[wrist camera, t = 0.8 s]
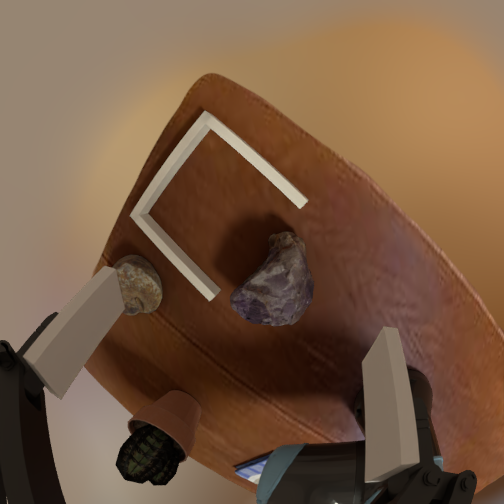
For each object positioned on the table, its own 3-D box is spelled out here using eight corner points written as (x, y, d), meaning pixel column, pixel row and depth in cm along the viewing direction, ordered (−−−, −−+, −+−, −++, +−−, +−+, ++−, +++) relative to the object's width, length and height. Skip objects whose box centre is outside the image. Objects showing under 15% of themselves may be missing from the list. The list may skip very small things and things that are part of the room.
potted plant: (152, 400, 56) (93, 466, 33) (167, 370, 52) (95, 448, 28) (198, 431, 55) (151, 506, 31) (222, 407, 50) (168, 498, 27)
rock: (237, 273, 44) (286, 318, 43) (209, 299, 36) (267, 352, 35) (286, 218, 38) (341, 269, 37) (264, 235, 30) (333, 300, 29)
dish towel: (294, 496, 55) (292, 503, 53) (233, 465, 56) (230, 472, 54) (340, 482, 49) (339, 489, 47) (277, 448, 50) (274, 457, 48)
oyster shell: (104, 266, 50) (84, 274, 45) (153, 244, 45) (132, 251, 40) (125, 315, 52) (107, 327, 46) (177, 303, 47) (159, 317, 41)
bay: (308, 199, 37) (307, 200, 34) (215, 295, 44) (209, 301, 42) (211, 114, 37) (204, 110, 35) (138, 214, 45) (129, 215, 42)
